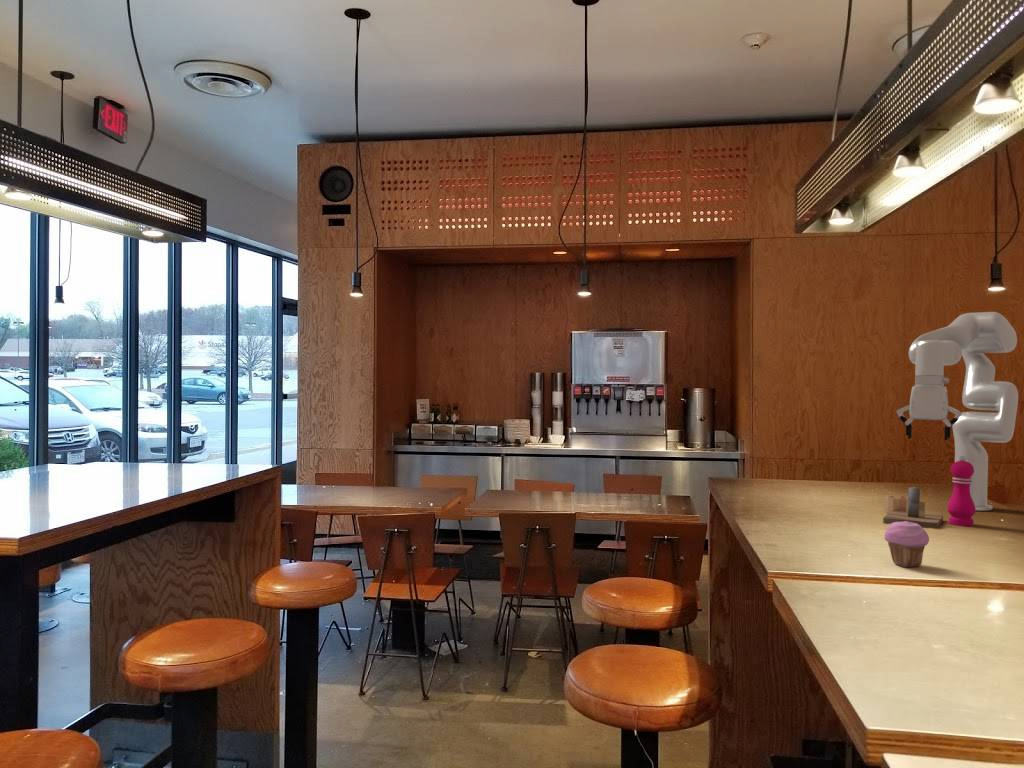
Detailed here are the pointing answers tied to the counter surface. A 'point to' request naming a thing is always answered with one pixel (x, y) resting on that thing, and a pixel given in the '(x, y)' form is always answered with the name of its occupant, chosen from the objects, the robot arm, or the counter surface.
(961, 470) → the pepper mill
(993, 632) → the counter surface
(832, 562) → the counter surface
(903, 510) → the pale wooden collar
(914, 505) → the keyed shaft block
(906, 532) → the cupcake
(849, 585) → the counter surface
